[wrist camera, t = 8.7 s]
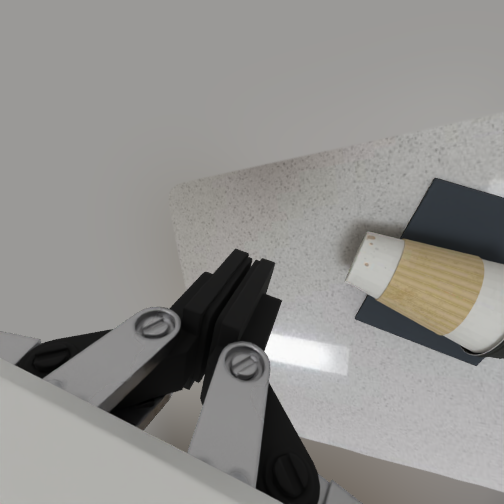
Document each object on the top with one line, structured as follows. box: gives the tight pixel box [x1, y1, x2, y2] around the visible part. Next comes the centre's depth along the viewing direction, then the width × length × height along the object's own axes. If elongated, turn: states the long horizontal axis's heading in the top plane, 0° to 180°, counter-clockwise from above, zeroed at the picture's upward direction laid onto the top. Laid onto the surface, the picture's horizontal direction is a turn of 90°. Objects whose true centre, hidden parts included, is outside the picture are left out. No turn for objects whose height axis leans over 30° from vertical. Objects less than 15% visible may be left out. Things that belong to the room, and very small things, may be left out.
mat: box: [355, 178, 504, 366], centre depth 32 cm, size 20×16×1 cm
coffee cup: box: [345, 231, 504, 359], centre depth 28 cm, size 10×10×15 cm
